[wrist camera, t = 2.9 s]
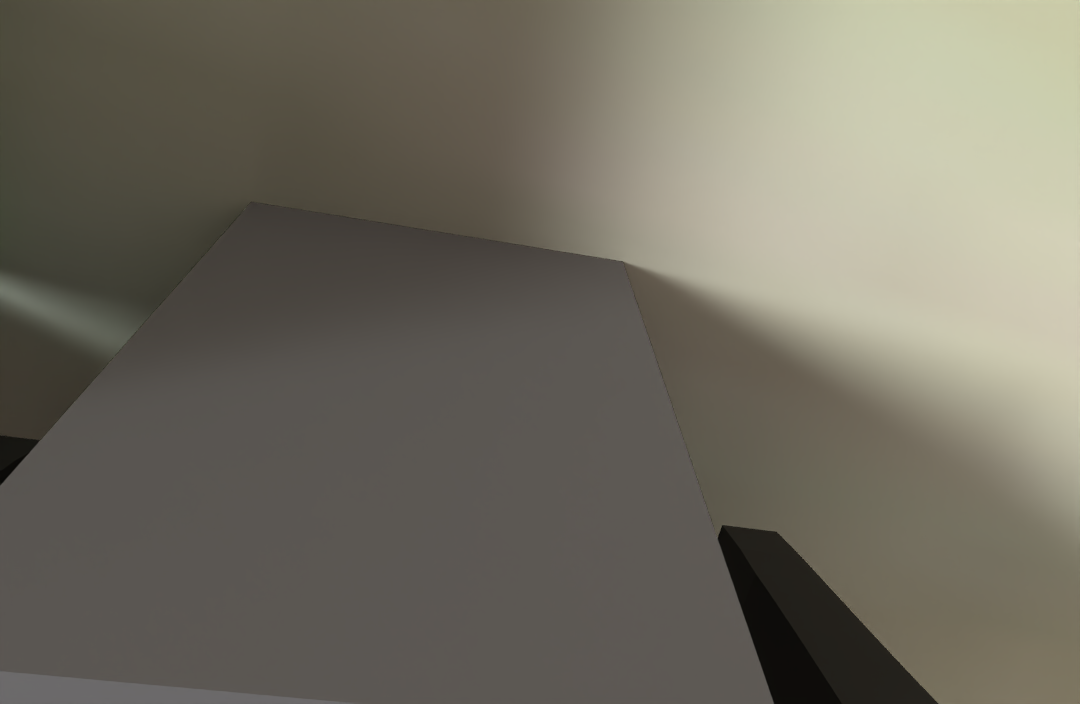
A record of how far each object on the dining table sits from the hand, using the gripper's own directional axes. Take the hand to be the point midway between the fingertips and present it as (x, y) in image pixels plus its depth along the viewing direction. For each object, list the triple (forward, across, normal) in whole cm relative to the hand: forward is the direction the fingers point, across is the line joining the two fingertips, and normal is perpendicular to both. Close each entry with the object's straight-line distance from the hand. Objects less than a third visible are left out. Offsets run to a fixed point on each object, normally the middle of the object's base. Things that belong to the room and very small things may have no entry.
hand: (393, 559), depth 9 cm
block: (+2, 0, 0) cm, 2 cm away
